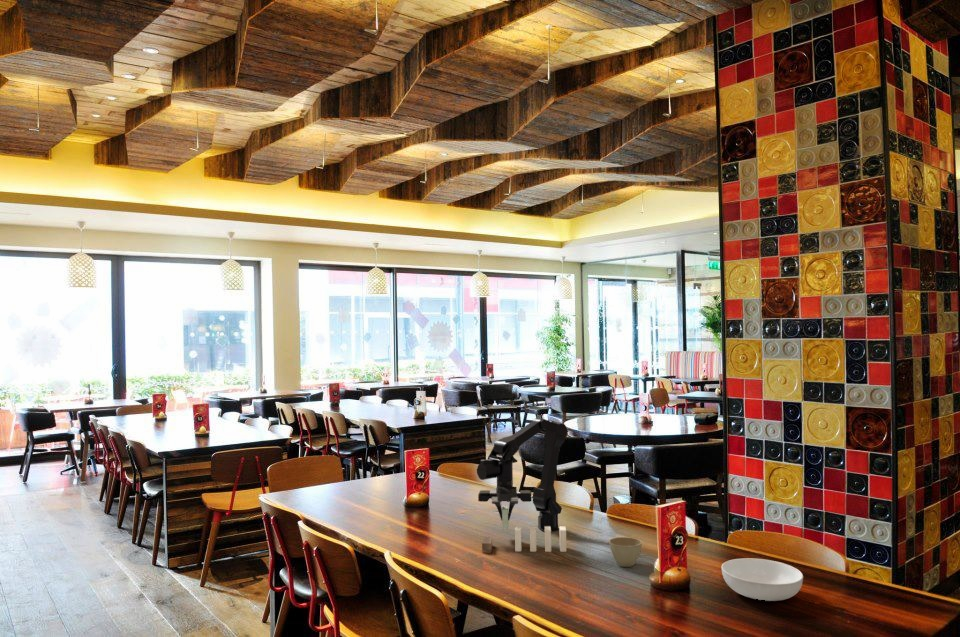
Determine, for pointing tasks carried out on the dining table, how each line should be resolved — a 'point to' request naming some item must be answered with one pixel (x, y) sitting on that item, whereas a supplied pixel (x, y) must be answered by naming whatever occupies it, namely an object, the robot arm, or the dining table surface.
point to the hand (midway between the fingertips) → (505, 520)
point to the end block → (487, 545)
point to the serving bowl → (762, 578)
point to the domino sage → (505, 518)
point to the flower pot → (625, 550)
